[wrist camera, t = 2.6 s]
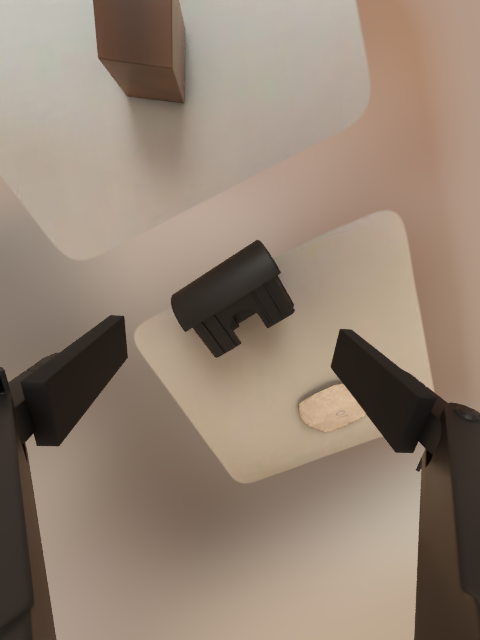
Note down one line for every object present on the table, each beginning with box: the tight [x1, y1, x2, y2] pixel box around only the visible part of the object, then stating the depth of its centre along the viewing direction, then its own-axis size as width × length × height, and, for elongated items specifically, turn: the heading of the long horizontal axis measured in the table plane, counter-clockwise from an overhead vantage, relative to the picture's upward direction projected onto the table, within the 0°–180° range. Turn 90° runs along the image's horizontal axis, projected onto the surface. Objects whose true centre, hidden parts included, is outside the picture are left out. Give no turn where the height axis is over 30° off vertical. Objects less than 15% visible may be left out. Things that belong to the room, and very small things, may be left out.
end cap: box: [171, 240, 295, 358], centre depth 24 cm, size 10×7×7 cm
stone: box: [299, 384, 367, 432], centre depth 33 cm, size 8×14×2 cm, turn 115°
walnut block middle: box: [93, 0, 185, 103], centre depth 18 cm, size 5×5×5 cm
